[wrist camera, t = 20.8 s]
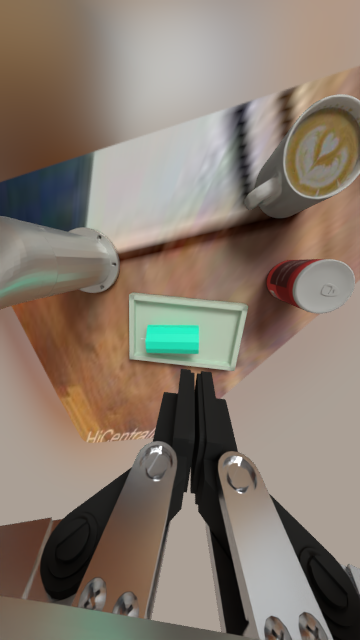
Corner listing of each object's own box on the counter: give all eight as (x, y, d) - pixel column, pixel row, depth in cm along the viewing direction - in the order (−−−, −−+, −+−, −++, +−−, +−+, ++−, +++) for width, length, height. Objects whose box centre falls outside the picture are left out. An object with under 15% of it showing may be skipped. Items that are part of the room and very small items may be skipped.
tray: (133, 353, 43) (129, 358, 40) (133, 292, 38) (129, 294, 36) (231, 364, 42) (234, 371, 39) (244, 303, 37) (248, 306, 35)
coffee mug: (314, 139, 28) (375, 76, 19) (317, 207, 31) (373, 182, 21) (230, 170, 30) (247, 128, 21) (241, 232, 33) (260, 219, 23)
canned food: (302, 299, 36) (346, 314, 26) (262, 298, 36) (289, 313, 26) (311, 260, 34) (364, 259, 23) (268, 259, 34) (301, 258, 24)
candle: (198, 324, 39) (145, 323, 40) (199, 326, 33) (136, 325, 34) (197, 350, 39) (145, 349, 40) (198, 358, 33) (137, 356, 34)
